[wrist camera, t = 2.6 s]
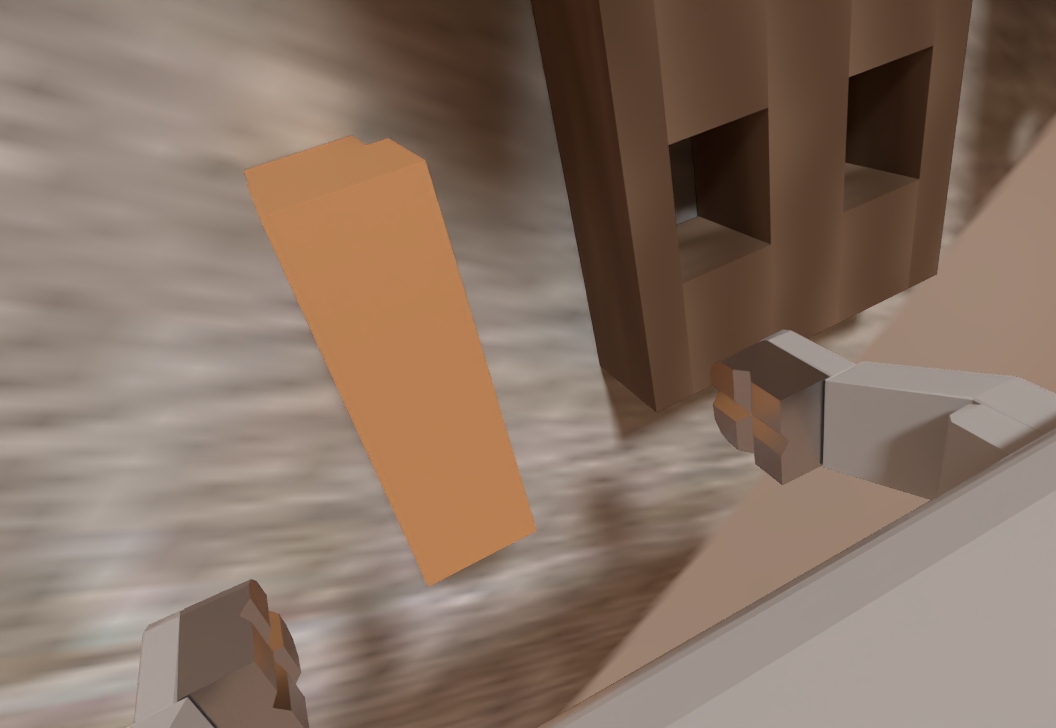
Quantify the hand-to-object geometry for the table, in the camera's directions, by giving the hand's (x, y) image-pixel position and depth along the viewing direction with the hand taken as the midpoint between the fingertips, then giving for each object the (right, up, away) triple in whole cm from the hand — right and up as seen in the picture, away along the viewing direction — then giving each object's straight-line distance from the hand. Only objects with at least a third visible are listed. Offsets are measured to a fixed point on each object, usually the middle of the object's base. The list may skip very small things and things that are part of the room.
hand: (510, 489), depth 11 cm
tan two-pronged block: (-5, +4, +8) cm, 10 cm away
